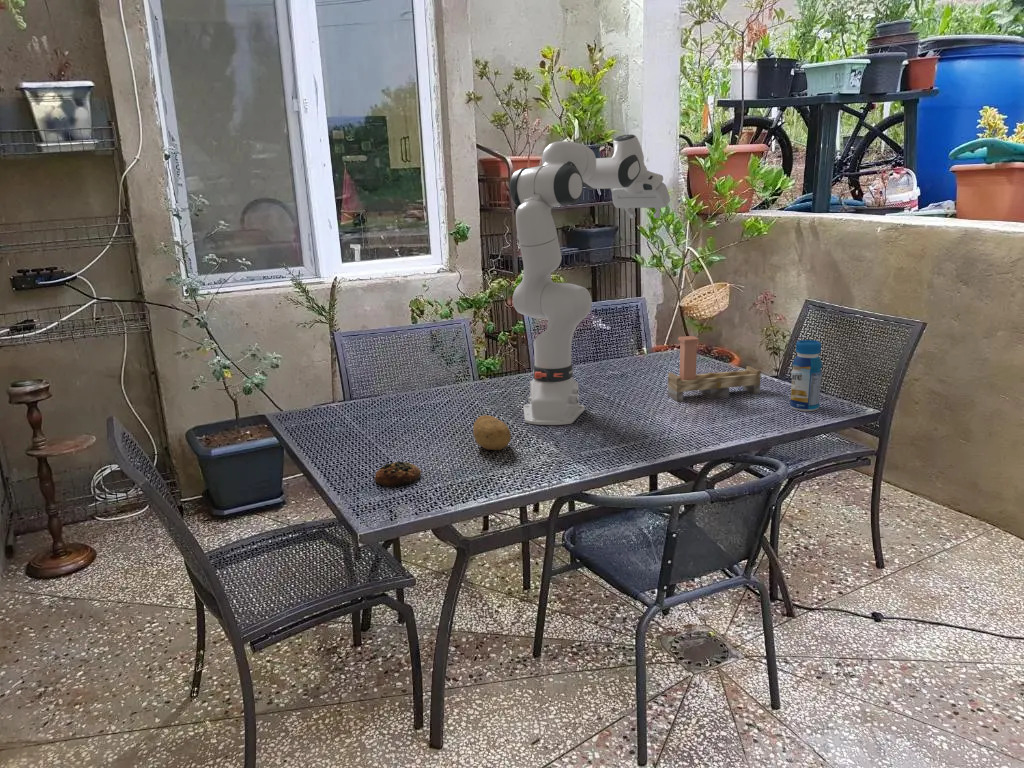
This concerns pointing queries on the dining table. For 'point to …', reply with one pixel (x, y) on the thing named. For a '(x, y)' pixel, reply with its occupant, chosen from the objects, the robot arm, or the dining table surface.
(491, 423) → the potato
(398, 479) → the bread roll
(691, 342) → the terracotta square pillar
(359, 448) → the dining table surface
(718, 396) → the beam
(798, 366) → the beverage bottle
